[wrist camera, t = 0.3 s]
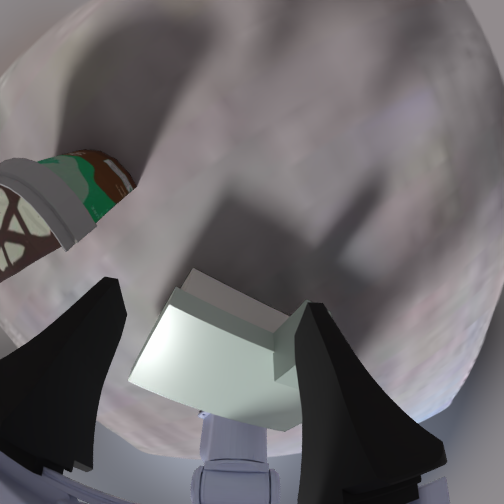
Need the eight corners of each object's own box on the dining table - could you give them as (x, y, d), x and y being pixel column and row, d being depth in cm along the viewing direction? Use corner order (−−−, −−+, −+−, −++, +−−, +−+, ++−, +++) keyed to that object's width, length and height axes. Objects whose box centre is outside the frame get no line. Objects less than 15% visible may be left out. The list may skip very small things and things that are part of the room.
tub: (281, 386, 30) (283, 422, 25) (153, 336, 25) (139, 374, 21) (340, 339, 25) (351, 379, 21) (193, 267, 21) (178, 309, 17)
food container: (122, 103, 15) (16, 115, 6) (153, 179, 18) (74, 248, 9) (24, 177, 17) (-55, 225, 8) (51, 233, 20) (-17, 299, 11)
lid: (284, 418, 27) (285, 450, 23) (132, 366, 22) (120, 401, 18) (391, 342, 20) (407, 380, 16) (201, 242, 16) (186, 286, 12)
